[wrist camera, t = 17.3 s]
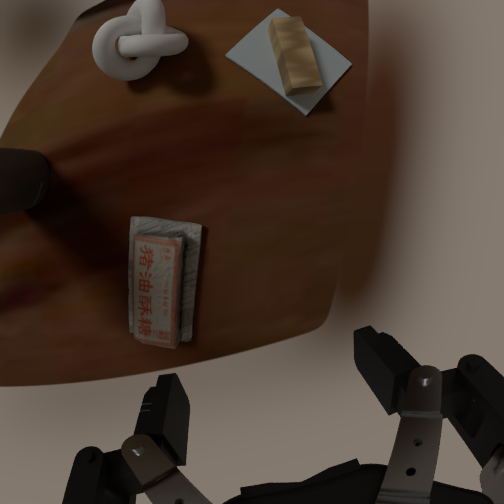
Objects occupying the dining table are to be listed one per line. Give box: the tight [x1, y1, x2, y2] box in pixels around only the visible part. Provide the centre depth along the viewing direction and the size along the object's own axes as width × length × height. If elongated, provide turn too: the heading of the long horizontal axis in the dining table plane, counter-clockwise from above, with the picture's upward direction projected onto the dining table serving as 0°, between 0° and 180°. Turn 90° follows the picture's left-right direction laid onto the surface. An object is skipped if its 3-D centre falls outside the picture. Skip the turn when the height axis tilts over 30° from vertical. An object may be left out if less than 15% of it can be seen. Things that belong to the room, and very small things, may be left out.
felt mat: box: [225, 9, 352, 116], centre depth 33 cm, size 14×12×1 cm
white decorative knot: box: [92, 0, 188, 81], centre depth 26 cm, size 11×12×9 cm
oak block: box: [267, 17, 323, 96], centre depth 31 cm, size 4×4×11 cm
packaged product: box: [128, 217, 202, 349], centre depth 37 cm, size 18×5×10 cm
